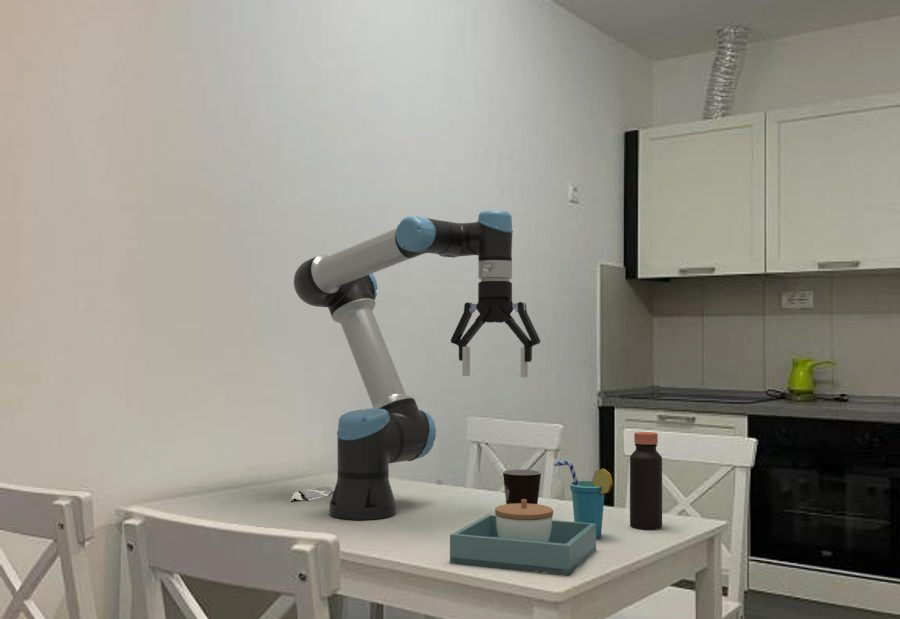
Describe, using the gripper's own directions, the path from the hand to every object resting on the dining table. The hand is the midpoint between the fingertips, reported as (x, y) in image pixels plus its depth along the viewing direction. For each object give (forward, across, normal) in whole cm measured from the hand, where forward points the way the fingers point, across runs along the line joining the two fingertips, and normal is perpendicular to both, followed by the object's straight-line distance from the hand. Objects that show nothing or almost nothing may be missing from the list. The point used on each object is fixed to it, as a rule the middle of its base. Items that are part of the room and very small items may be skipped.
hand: (494, 376), depth 201 cm
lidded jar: (+31, +16, -28) cm, 45 cm away
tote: (+32, +16, -28) cm, 45 cm away
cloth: (+33, -53, +13) cm, 64 cm away
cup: (+32, +22, -7) cm, 39 cm away
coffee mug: (+32, +4, +8) cm, 33 cm away
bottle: (+32, +32, +7) cm, 46 cm away
